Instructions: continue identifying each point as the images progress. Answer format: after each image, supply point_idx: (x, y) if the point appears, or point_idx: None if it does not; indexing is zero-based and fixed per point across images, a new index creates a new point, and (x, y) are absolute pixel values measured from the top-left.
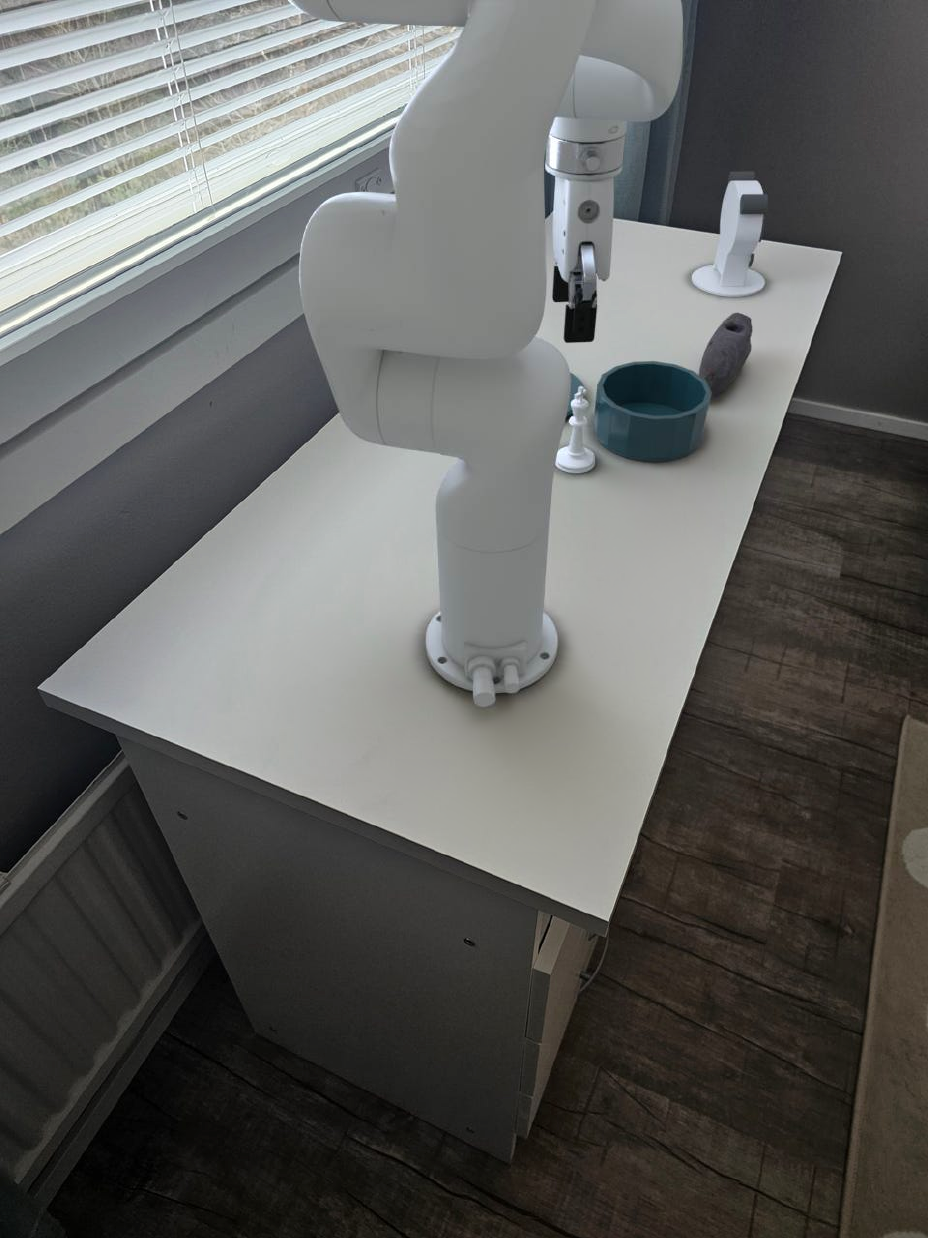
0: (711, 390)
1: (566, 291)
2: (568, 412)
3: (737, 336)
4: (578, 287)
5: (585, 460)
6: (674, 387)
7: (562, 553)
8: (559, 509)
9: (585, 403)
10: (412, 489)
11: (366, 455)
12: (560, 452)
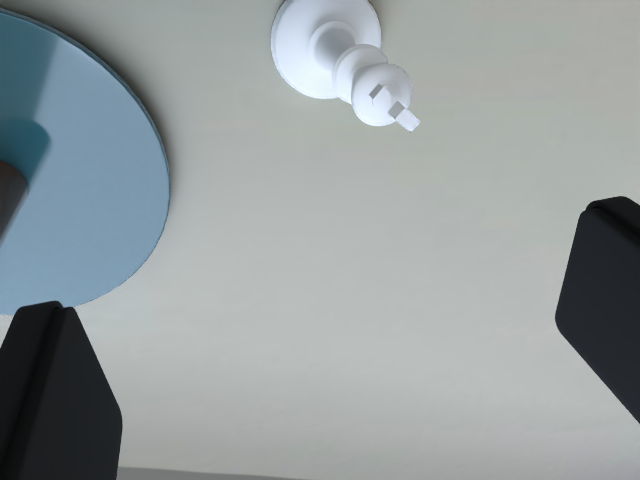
0: None
1: (94, 424)
2: (104, 64)
3: None
4: (55, 387)
5: (360, 17)
6: None
7: (636, 73)
8: (505, 80)
9: (398, 77)
10: (404, 337)
11: (303, 415)
12: (320, 87)
